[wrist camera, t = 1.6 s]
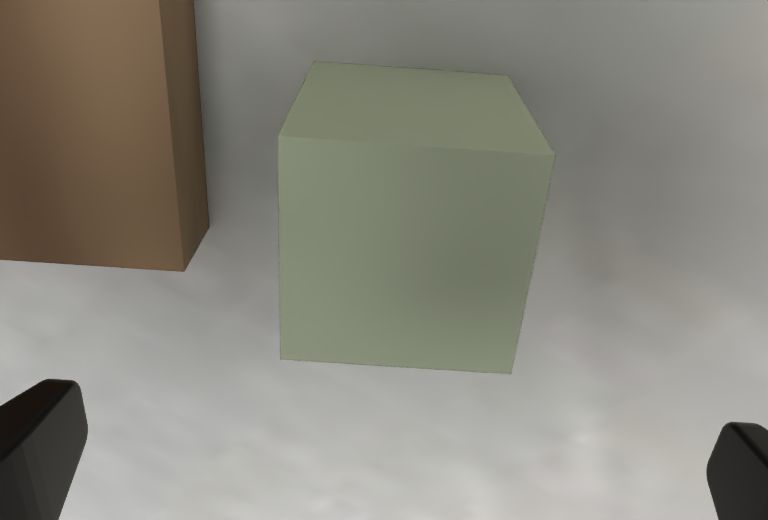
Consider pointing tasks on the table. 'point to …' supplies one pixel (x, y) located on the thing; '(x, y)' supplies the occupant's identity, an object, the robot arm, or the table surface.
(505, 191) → the sage cube
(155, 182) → the walnut block
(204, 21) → the table surface
